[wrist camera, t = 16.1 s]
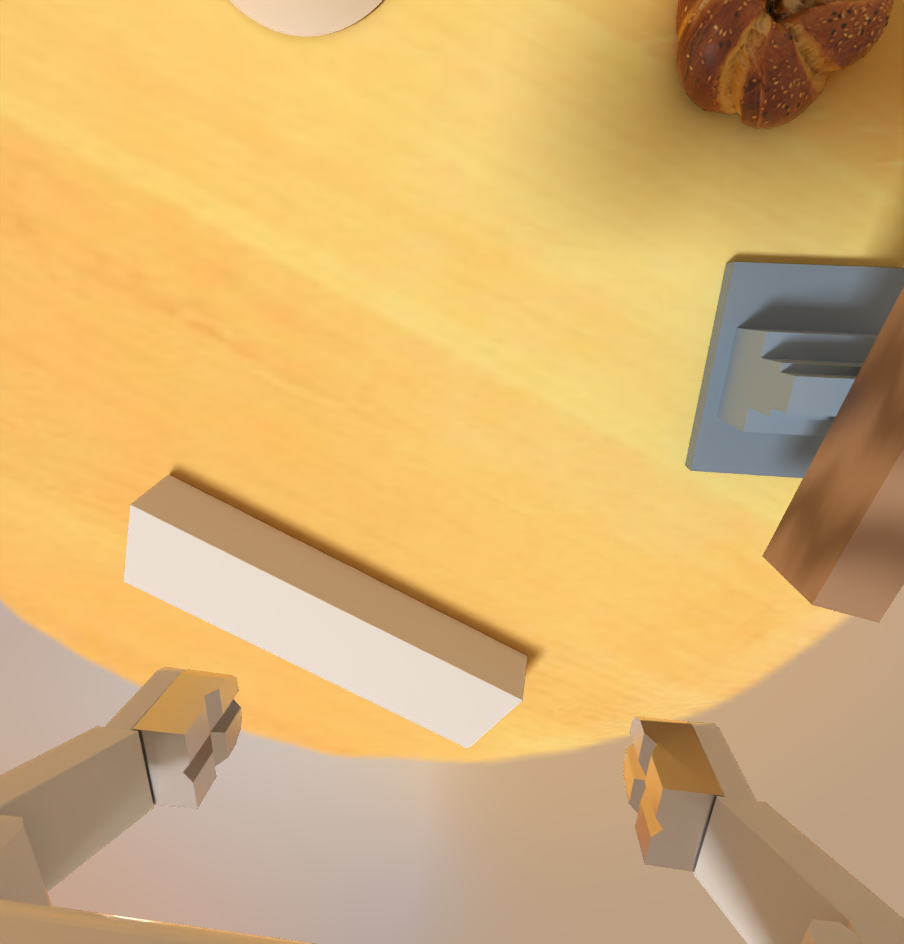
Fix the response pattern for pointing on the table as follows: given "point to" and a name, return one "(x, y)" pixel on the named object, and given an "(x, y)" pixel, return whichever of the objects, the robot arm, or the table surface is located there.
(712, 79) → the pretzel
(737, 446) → the gray stepped block
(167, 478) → the beige long block
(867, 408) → the walnut bar
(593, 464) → the table surface
